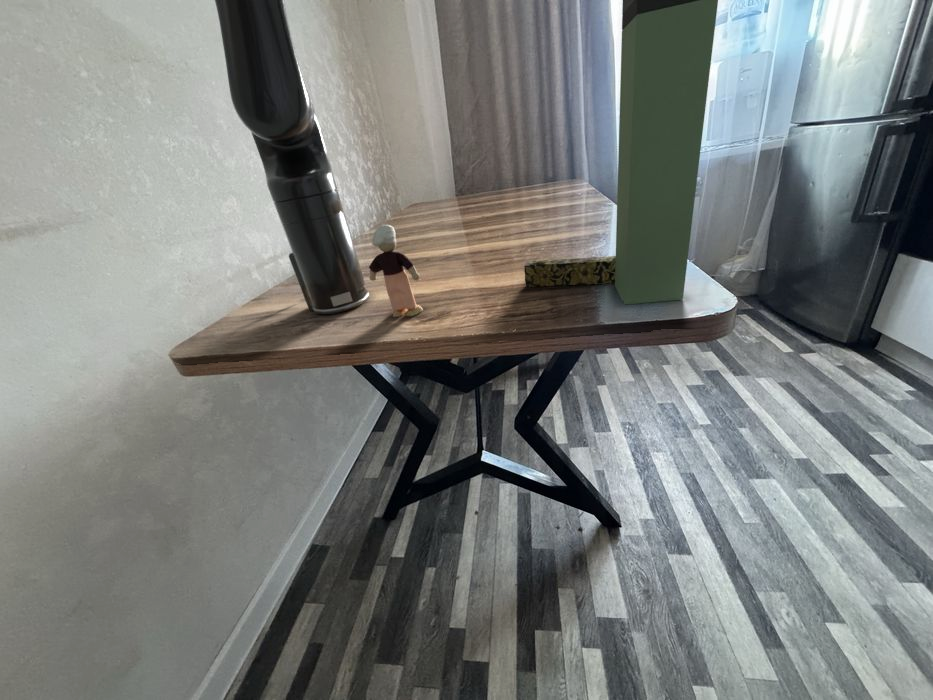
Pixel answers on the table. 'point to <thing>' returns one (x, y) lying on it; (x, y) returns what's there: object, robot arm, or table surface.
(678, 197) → the tall green rectangular column
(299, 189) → the robot arm
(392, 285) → the grandmother figurine
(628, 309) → the table surface
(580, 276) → the decorative block
